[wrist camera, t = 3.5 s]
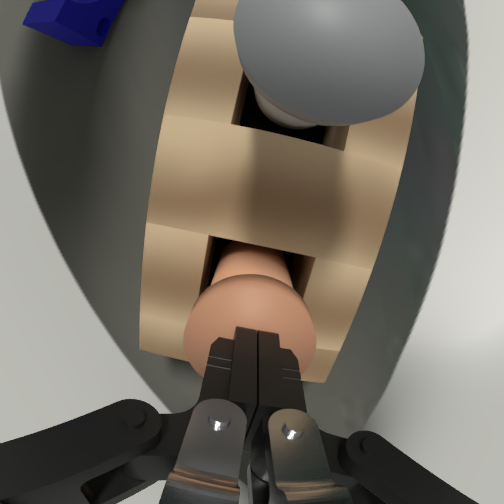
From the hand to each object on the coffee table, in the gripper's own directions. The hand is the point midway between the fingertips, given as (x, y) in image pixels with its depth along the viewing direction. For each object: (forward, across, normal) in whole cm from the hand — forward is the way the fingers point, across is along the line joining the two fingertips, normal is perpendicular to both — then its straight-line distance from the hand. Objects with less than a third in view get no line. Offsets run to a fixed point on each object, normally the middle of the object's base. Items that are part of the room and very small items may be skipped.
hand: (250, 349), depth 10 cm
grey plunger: (+6, 0, -10) cm, 12 cm away
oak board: (+9, 0, -5) cm, 10 cm away
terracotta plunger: (+8, 0, 0) cm, 8 cm away
